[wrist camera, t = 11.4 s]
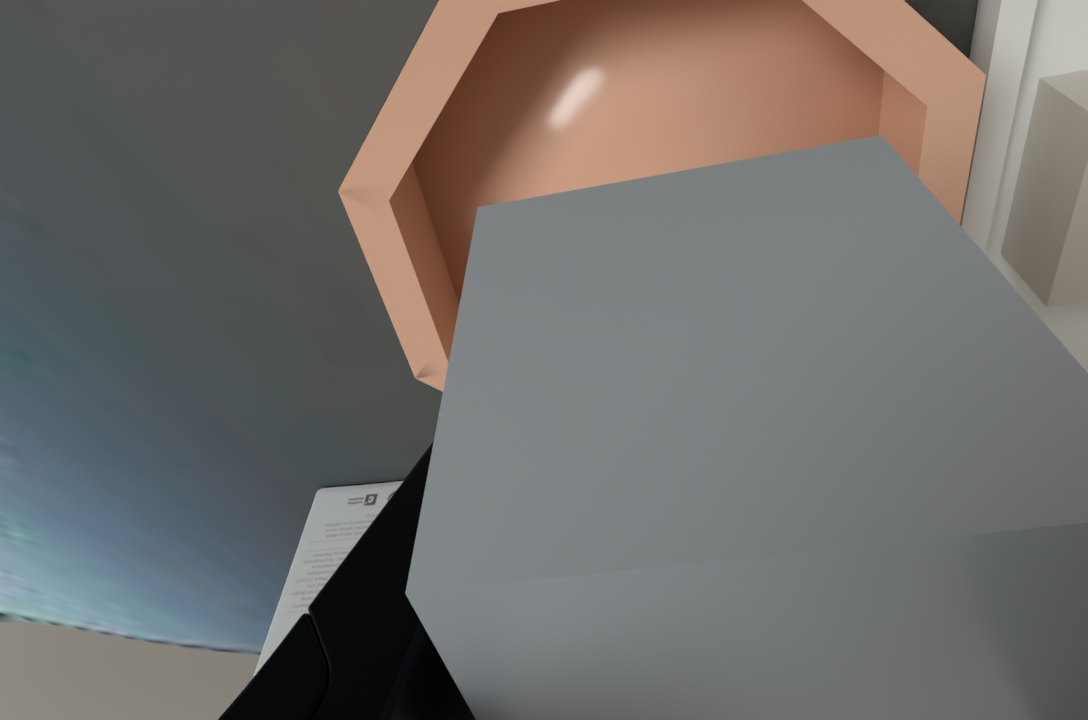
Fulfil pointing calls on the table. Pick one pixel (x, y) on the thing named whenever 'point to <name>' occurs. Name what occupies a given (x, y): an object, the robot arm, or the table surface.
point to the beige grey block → (1053, 194)
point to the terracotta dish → (630, 117)
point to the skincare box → (324, 550)
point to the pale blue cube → (754, 459)
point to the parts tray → (1019, 129)
